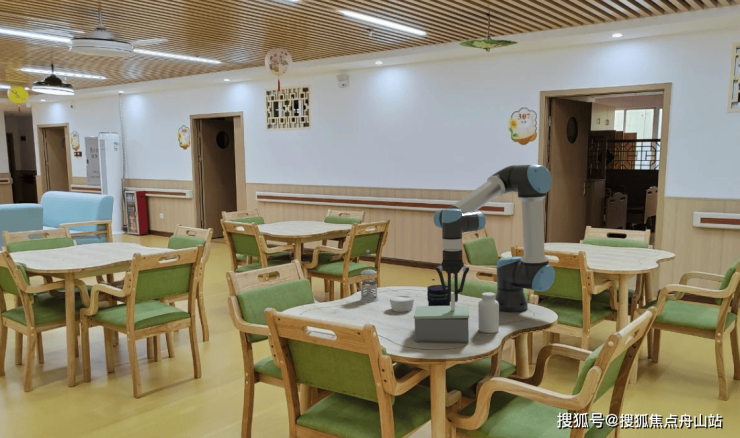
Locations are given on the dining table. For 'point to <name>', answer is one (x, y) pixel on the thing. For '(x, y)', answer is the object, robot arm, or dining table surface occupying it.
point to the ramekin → (402, 303)
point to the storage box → (442, 330)
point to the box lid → (441, 312)
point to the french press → (368, 286)
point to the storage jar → (437, 296)
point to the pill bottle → (488, 313)
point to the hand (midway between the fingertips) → (453, 309)
